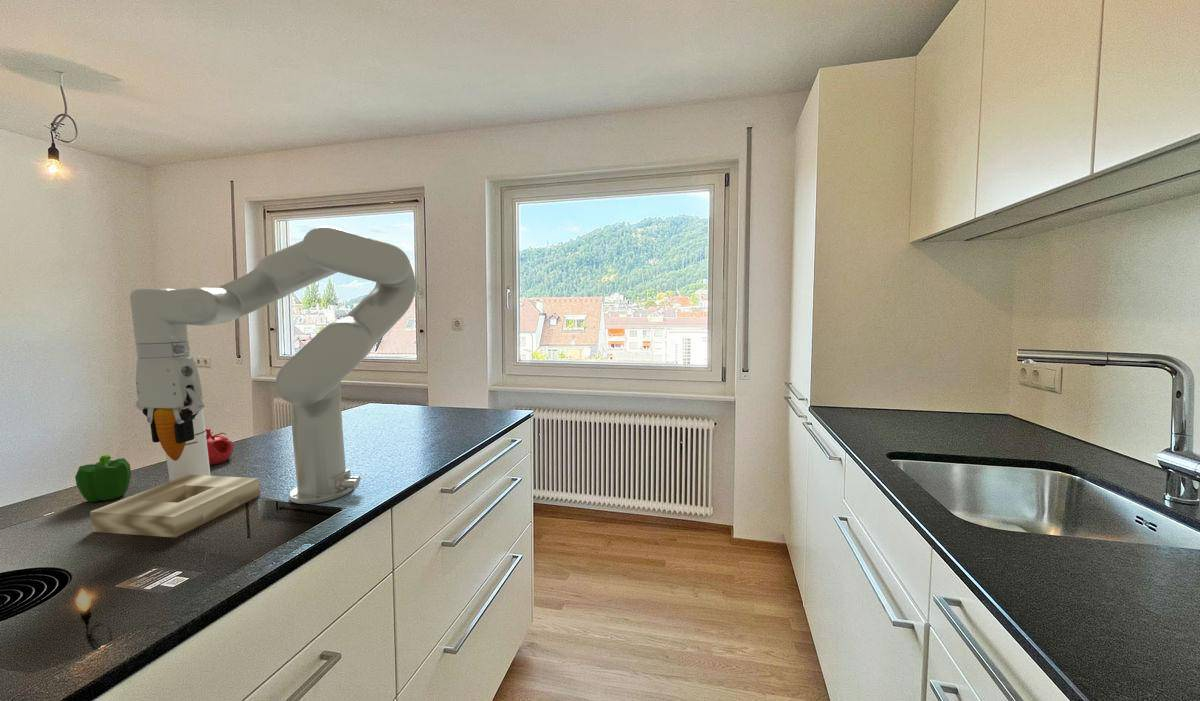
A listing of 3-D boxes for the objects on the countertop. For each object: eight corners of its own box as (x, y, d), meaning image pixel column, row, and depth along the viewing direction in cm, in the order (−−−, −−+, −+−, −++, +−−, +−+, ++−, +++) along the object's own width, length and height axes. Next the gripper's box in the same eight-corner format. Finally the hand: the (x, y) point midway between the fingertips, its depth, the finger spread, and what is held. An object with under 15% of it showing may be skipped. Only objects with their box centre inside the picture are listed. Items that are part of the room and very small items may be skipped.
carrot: (163, 466, 89) (155, 391, 87) (155, 461, 92) (147, 388, 90) (196, 459, 93) (188, 387, 91) (187, 454, 96) (179, 384, 94)
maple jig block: (260, 495, 102) (258, 478, 101) (176, 537, 84) (173, 516, 83) (189, 491, 104) (187, 474, 103) (92, 531, 86) (90, 511, 86)
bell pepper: (80, 498, 101) (73, 454, 99) (133, 486, 107) (127, 445, 105) (78, 510, 95) (71, 464, 94) (134, 497, 101) (128, 454, 100)
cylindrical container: (219, 479, 110) (207, 378, 107) (189, 492, 103) (177, 384, 100) (192, 478, 111) (180, 378, 108) (161, 491, 104) (148, 383, 101)
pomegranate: (180, 472, 116) (174, 437, 114) (196, 459, 125) (191, 426, 124) (228, 465, 120) (223, 431, 118) (240, 453, 129) (235, 421, 127)
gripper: (219, 349, 92) (228, 436, 95) (147, 348, 95) (157, 433, 97) (181, 354, 85) (191, 448, 87) (104, 353, 87) (116, 445, 89)
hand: (173, 439), depth 92 cm, fingers closed on carrot, 4 cm apart
